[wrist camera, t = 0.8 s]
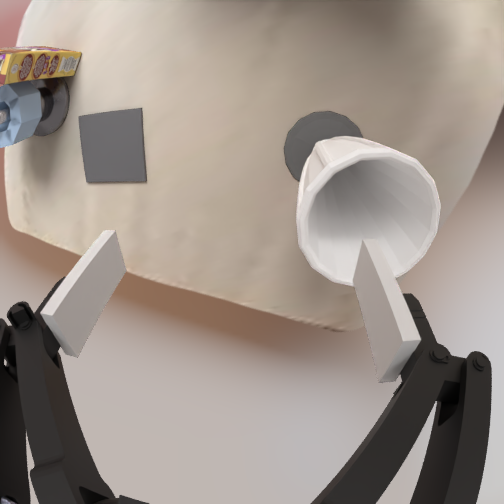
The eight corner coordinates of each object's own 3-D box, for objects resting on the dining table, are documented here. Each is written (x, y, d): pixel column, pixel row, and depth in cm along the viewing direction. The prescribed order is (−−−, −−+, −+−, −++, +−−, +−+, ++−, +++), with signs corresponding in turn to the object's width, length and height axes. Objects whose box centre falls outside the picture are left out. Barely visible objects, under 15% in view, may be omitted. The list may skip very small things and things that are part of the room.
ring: (3, 89, 26) (-17, 95, 23) (39, 75, 26) (18, 78, 22) (8, 141, 31) (-11, 150, 28) (43, 133, 31) (23, 142, 27)
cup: (266, 146, 38) (260, 218, 20) (331, 94, 33) (397, 112, 15) (318, 205, 42) (350, 311, 24) (380, 159, 37) (460, 236, 19)
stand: (23, 80, 31) (-27, 92, 21) (68, 64, 31) (15, 70, 21) (28, 138, 37) (-19, 161, 27) (71, 129, 37) (21, 151, 27)
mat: (80, 116, 35) (78, 116, 35) (142, 108, 35) (140, 108, 35) (88, 181, 42) (86, 182, 41) (146, 179, 41) (145, 181, 41)
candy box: (83, 50, 30) (12, 53, 17) (75, 75, 32) (4, 88, 19) (45, 44, 28) (-24, 50, 15) (38, 68, 30) (-30, 81, 17)
